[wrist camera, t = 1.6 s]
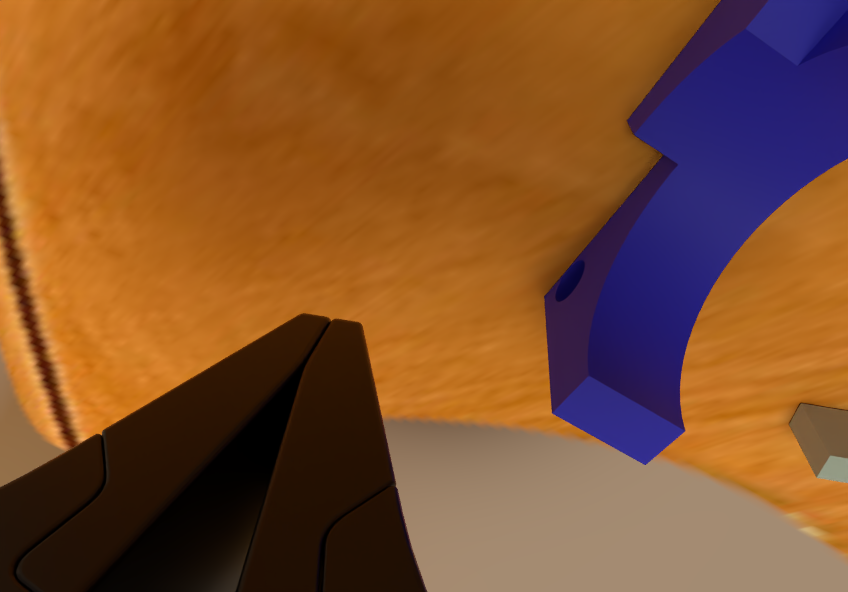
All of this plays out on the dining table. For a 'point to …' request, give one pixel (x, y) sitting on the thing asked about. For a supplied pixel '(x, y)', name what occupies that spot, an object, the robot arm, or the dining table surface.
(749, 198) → the blue half clamp bracket
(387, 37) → the dining table surface
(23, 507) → the robot arm
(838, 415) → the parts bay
